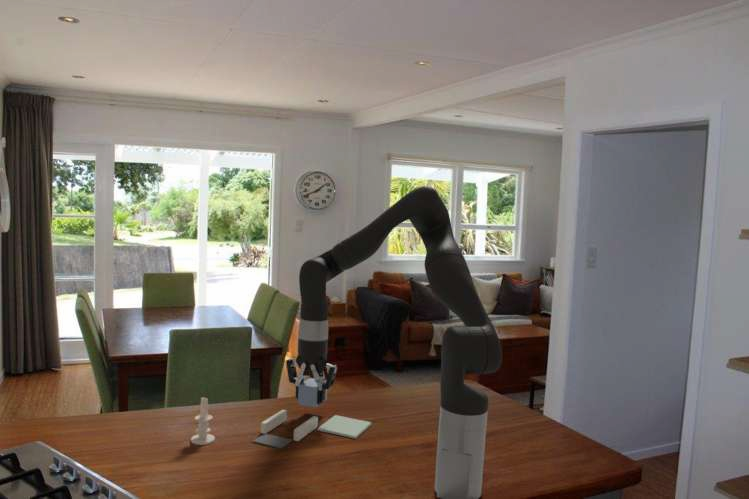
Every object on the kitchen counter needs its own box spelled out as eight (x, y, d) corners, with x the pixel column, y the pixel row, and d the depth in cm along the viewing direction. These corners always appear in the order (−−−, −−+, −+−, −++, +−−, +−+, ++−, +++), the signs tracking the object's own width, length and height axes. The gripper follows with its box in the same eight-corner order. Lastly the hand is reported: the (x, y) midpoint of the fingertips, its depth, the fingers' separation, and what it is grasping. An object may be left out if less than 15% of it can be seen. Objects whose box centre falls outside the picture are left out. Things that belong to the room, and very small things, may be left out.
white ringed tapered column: (204, 433, 142) (205, 390, 141) (219, 440, 139) (221, 395, 138) (185, 440, 137) (187, 395, 136) (201, 447, 134) (202, 401, 133)
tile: (355, 438, 144) (355, 436, 144) (317, 430, 148) (317, 428, 148) (371, 424, 153) (371, 422, 153) (335, 417, 157) (335, 414, 157)
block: (315, 407, 153) (316, 387, 153) (297, 404, 155) (298, 384, 155) (327, 399, 160) (328, 380, 160) (309, 396, 162) (310, 377, 161)
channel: (286, 450, 135) (286, 439, 135) (248, 441, 139) (248, 430, 139) (317, 426, 150) (318, 416, 150) (282, 419, 153) (282, 409, 153)
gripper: (345, 337, 155) (341, 402, 157) (295, 330, 161) (292, 393, 162) (332, 343, 148) (329, 411, 150) (280, 335, 154) (277, 401, 155)
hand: (309, 401), depth 156 cm, fingers closed on block, 5 cm apart
